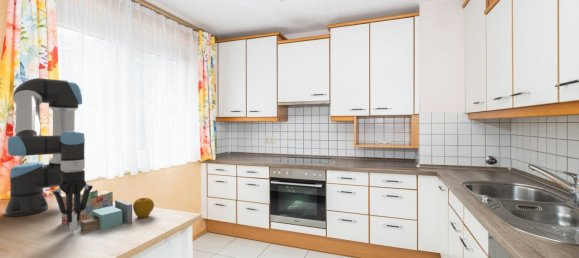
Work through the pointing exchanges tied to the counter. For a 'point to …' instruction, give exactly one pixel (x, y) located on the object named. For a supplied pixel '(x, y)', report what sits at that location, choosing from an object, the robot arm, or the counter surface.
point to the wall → (124, 210)
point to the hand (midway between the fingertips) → (73, 229)
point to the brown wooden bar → (90, 224)
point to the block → (108, 217)
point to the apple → (143, 207)
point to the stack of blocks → (90, 204)
